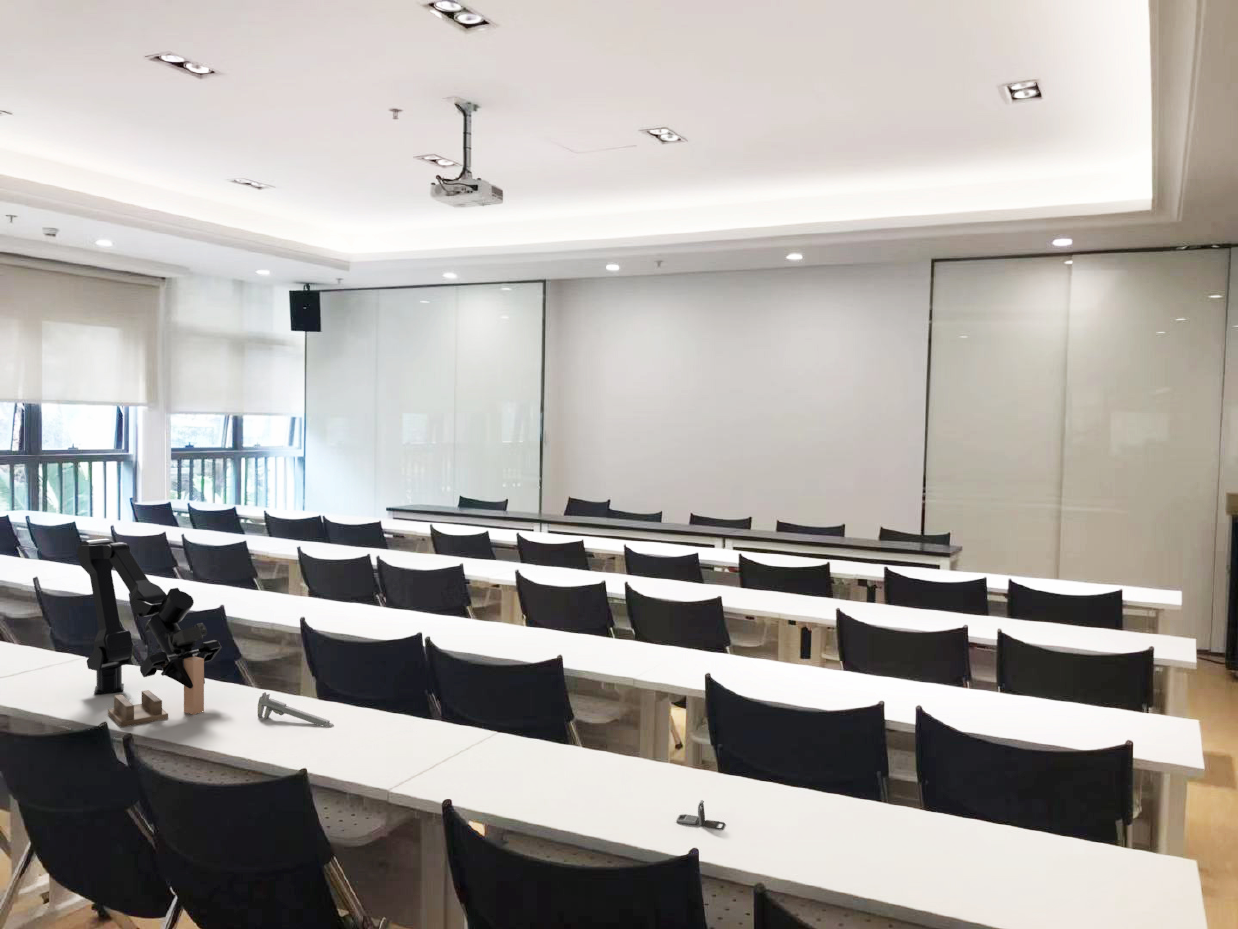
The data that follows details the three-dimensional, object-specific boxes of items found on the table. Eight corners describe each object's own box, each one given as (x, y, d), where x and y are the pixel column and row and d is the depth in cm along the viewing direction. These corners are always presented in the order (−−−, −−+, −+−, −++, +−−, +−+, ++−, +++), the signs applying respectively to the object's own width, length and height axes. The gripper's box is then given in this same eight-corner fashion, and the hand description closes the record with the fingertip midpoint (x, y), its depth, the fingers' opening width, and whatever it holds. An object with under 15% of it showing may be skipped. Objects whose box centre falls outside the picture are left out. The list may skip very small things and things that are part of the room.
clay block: (183, 712, 222) (183, 659, 221) (194, 709, 224) (194, 656, 224) (193, 714, 220) (193, 661, 219) (203, 711, 222) (203, 658, 222)
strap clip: (675, 825, 165) (675, 802, 164) (679, 818, 168) (679, 795, 167) (722, 832, 162) (723, 808, 162) (725, 825, 165) (726, 801, 165)
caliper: (257, 718, 219) (257, 692, 219) (260, 717, 220) (260, 691, 220) (331, 728, 213) (331, 701, 213) (334, 727, 214) (334, 700, 214)
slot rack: (108, 714, 219) (107, 696, 219) (153, 706, 226) (153, 688, 226) (121, 727, 210) (121, 708, 210) (168, 718, 217) (168, 700, 217)
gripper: (147, 621, 215) (177, 675, 210) (216, 608, 231) (246, 657, 226) (126, 650, 219) (155, 703, 214) (196, 635, 235) (225, 684, 230)
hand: (197, 686), depth 221 cm, fingers closed on clay block, 3 cm apart
